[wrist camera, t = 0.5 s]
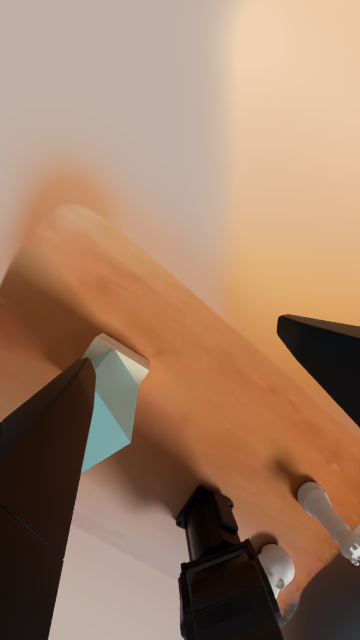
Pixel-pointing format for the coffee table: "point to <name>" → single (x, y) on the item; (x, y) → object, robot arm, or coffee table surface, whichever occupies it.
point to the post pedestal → (130, 358)
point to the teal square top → (110, 409)
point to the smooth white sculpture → (276, 566)
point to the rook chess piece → (329, 519)
